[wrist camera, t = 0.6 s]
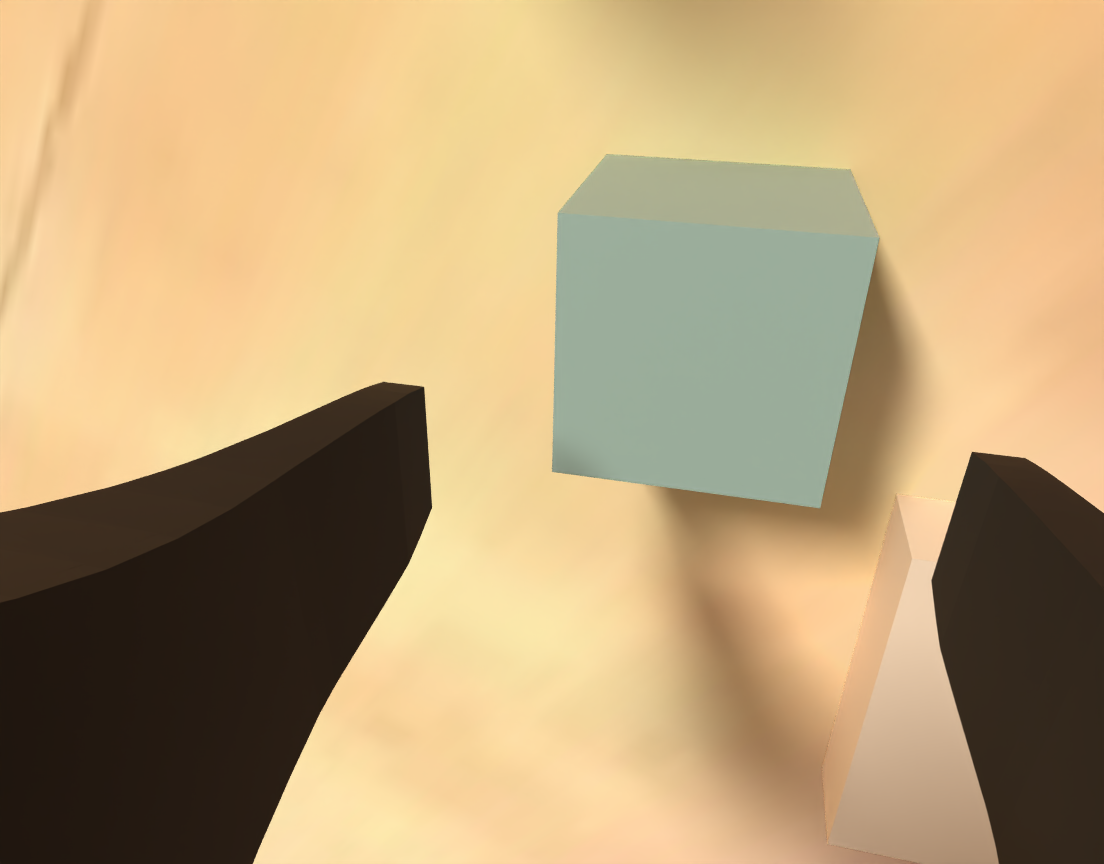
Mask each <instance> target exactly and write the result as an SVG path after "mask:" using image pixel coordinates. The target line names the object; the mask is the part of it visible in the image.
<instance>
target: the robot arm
mask: <svg viewBox="0 0 1104 864" xmlns="http://www.w3.org/2000/svg"><path fill="white" fill-rule="evenodd" d="M431 509H432V499H431V484H430V469H429V454H428V439H427V424H426V409H425V394H424V387H421V386H413V385H404V384H396V383H388V382H382V383H379V384H375V385H372V386H369V387H366V388H364V389H361V390H359V391H356V392H354V393H351V394H349V395H347V396H344V397H342V398H340V399H338V400H335V401H333V402H331V403H329V404H326V405H324V406H322V407H320V408H317V409H315V410H313V411H311V412H309V413H306V414H304V415H302V416H300V417H297V418H295V419H293V420H291V421H288V422H286V423H284V424H282V425H280V426H277V427H275V428H273V429H271V430H268V431H266V432H263V433H261V434H259V435H256V436H254V437H251V438H249V439H246V440H244V441H241V442H239V443H236V444H234V445H231V446H229V447H226V448H224V449H221V450H219V451H217V452H214V453H212V454H209V455H207V456H204V457H202V458H199V459H196V460H193V461H191V462H188V463H185V464H182V465H179V466H176V467H173V468H170V469H168V470H165V471H161V472H158V473H155V474H152V475H149V476H145V477H142V478H139V479H136V480H132V481H129V482H126V483H123V484H119V485H116V486H112V487H109V488H105V489H101V490H96V491H92V492H88V493H84V494H80V495H76V496H72V497H68V498H64V499H59V500H55V501H51V502H47V503H43V504H39V505H35V506H31V507H26V508H21V509H16V510H11V511H6V512H1V513H0V864H253V862H254V859H255V857H256V854H257V852H258V849H259V847H260V845H261V842H262V840H263V838H264V835H265V833H266V831H267V829H268V826H269V824H270V822H271V819H272V817H273V815H274V813H275V810H276V808H277V806H278V803H279V801H280V799H281V797H282V794H283V792H284V790H285V787H286V785H287V783H288V781H289V778H290V776H291V774H292V772H293V770H294V767H295V765H296V763H297V761H298V759H299V757H300V755H301V752H302V750H303V748H304V746H305V744H306V742H307V740H308V738H309V735H310V733H311V731H312V729H313V727H314V725H315V723H316V720H317V718H318V716H319V714H320V712H321V710H322V709H323V707H324V705H325V703H326V701H327V699H328V698H329V696H330V694H331V692H332V690H333V688H334V687H335V685H336V683H337V682H338V680H339V678H340V677H341V675H342V673H343V672H344V670H345V668H346V667H347V665H348V664H349V662H350V660H351V659H352V657H353V655H354V654H355V652H356V650H357V649H358V647H359V646H360V644H361V642H362V641H363V639H364V637H365V636H366V634H367V632H368V631H369V629H370V628H371V626H372V624H373V623H374V621H375V619H376V618H377V616H378V614H379V613H380V611H381V610H382V608H383V606H384V605H385V603H386V601H387V600H388V598H389V596H390V595H391V593H392V591H393V589H394V588H395V586H396V584H397V583H398V581H399V579H400V578H401V576H402V574H403V573H404V571H405V569H406V567H407V566H408V564H409V562H410V559H411V557H412V555H413V553H414V550H415V548H416V546H417V543H418V541H419V539H420V536H421V534H422V531H423V529H424V526H425V524H426V521H427V519H428V516H429V514H430V511H431ZM931 583H932V591H933V600H934V609H935V617H936V624H937V631H938V638H939V645H940V650H941V654H942V657H943V661H944V665H945V669H946V672H947V676H948V679H949V683H950V686H951V690H952V693H953V697H954V700H955V704H956V707H957V710H958V714H959V717H960V721H961V724H962V727H963V731H964V734H965V738H966V741H967V744H968V748H969V751H970V755H971V758H972V761H973V765H974V768H975V772H976V775H977V778H978V782H979V785H980V789H981V792H982V795H983V799H984V802H985V806H986V809H987V813H988V817H989V821H990V825H991V829H992V834H993V838H994V842H995V846H996V851H997V856H998V862H999V864H1104V513H1103V512H1101V511H1100V510H1099V509H1097V508H1096V507H1095V506H1093V505H1092V504H1091V503H1089V502H1088V501H1087V500H1085V499H1084V498H1083V497H1081V496H1080V495H1079V494H1077V493H1076V492H1075V491H1073V490H1072V489H1070V488H1069V487H1068V486H1066V485H1065V484H1064V483H1062V482H1061V481H1059V480H1058V479H1057V478H1055V477H1054V476H1052V475H1051V474H1050V473H1048V472H1047V471H1045V470H1044V469H1042V468H1041V467H1039V466H1038V465H1036V464H1034V463H1033V462H1031V461H1029V460H1027V459H1026V458H1019V457H1011V456H1002V455H994V454H986V453H977V452H972V454H971V457H970V460H969V463H968V466H967V469H966V473H965V476H964V479H963V482H962V485H961V488H960V491H959V495H958V498H957V501H956V504H955V507H954V510H953V513H952V517H951V520H950V523H949V526H948V529H947V532H946V535H945V539H944V542H943V545H942V548H941V551H940V554H939V558H938V561H937V564H936V567H935V570H934V573H933V576H932V580H931Z"/></svg>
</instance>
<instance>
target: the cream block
mask: <svg viewBox="0 0 1104 864" xmlns="http://www.w3.org/2000/svg"><path fill="white" fill-rule="evenodd" d="M955 504H956V502H955V501H948V500H940V499H932V498H924V497H917V496H909V495H901V494H896V496H895V500H894V504H893V508H892V511H891V515H890V519H889V522H888V526H887V530H886V533H885V537H884V541H883V544H882V548H881V552H880V555H879V559H878V563H877V566H876V570H875V574H874V578H873V581H872V585H871V589H870V592H869V596H868V600H867V603H866V607H865V611H864V614H863V618H862V622H861V625H860V629H859V633H858V636H857V640H856V644H855V648H854V651H853V655H852V659H851V662H850V666H849V670H848V673H847V677H846V681H845V684H844V688H843V692H842V695H841V699H840V703H839V706H838V710H837V714H836V718H835V721H834V725H833V729H832V732H831V736H830V740H829V743H828V747H827V751H826V754H825V758H824V762H823V765H822V777H823V791H824V805H825V819H826V833H827V844H828V845H833V846H838V847H843V848H848V849H852V850H857V851H862V852H867V853H872V854H876V855H881V856H886V857H891V858H896V859H901V860H905V861H910V862H915V863H920V864H999V862H998V856H997V851H996V846H995V842H994V838H993V834H992V829H991V825H990V821H989V817H988V813H987V809H986V806H985V802H984V799H983V795H982V792H981V789H980V785H979V782H978V778H977V775H976V772H975V768H974V765H973V761H972V758H971V755H970V751H969V748H968V744H967V741H966V738H965V734H964V731H963V727H962V724H961V721H960V717H959V714H958V710H957V707H956V704H955V700H954V697H953V693H952V690H951V686H950V683H949V679H948V676H947V672H946V669H945V665H944V661H943V657H942V654H941V650H940V645H939V638H938V631H937V624H936V617H935V609H934V600H933V591H932V583H931V580H932V576H933V573H934V570H935V567H936V564H937V561H938V558H939V554H940V551H941V548H942V545H943V542H944V539H945V535H946V532H947V529H948V526H949V523H950V520H951V517H952V513H953V510H954V507H955Z"/></svg>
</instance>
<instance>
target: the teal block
mask: <svg viewBox="0 0 1104 864" xmlns="http://www.w3.org/2000/svg"><path fill="white" fill-rule="evenodd" d="M878 242H879V235H878V233H877V231H876V228H875V226H874V224H873V221H872V219H871V217H870V214H869V212H868V210H867V207H866V205H865V203H864V200H863V198H862V196H861V193H860V191H859V189H858V186H857V184H856V181H855V179H854V177H853V174H852V172H851V170H849V169H833V168H817V167H801V166H786V165H770V164H754V163H738V162H723V161H707V160H691V159H675V158H659V157H644V156H628V155H612V154H607V155H606V156H605V157H604V158H603V159H602V160H601V162H600V163H599V164H598V165H597V166H596V168H595V169H594V170H593V171H592V172H591V174H590V175H589V176H588V177H587V178H586V180H585V181H584V182H583V183H582V184H581V186H580V187H579V188H578V189H577V190H576V192H575V193H574V194H573V195H572V196H571V198H570V199H569V200H568V201H567V202H566V204H565V205H564V206H563V207H562V208H561V210H560V211H559V212H558V228H557V275H556V321H555V367H554V413H553V460H552V472H557V473H565V474H572V475H579V476H587V477H594V478H601V479H609V480H616V481H624V482H631V483H638V484H646V485H653V486H660V487H668V488H675V489H682V490H690V491H697V492H704V493H712V494H719V495H726V496H734V497H741V498H748V499H756V500H763V501H771V502H778V503H785V504H793V505H800V506H807V507H815V508H820V507H821V502H822V498H823V493H824V488H825V484H826V479H827V475H828V470H829V466H830V461H831V457H832V452H833V447H834V443H835V438H836V434H837V429H838V425H839V420H840V415H841V411H842V406H843V402H844V397H845V393H846V388H847V384H848V379H849V374H850V370H851V365H852V361H853V356H854V352H855V347H856V342H857V338H858V333H859V329H860V324H861V320H862V315H863V311H864V306H865V301H866V297H867V292H868V288H869V283H870V279H871V274H872V269H873V265H874V260H875V256H876V251H877V247H878Z"/></svg>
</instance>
